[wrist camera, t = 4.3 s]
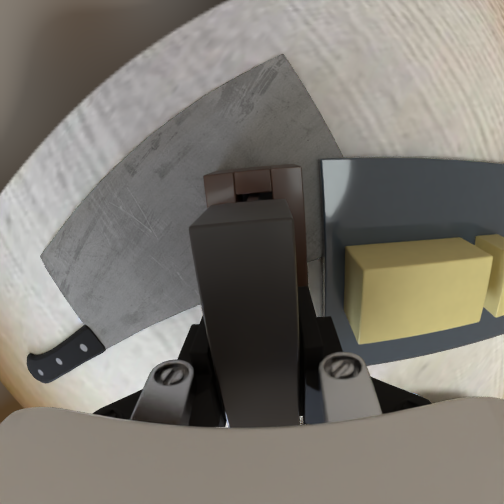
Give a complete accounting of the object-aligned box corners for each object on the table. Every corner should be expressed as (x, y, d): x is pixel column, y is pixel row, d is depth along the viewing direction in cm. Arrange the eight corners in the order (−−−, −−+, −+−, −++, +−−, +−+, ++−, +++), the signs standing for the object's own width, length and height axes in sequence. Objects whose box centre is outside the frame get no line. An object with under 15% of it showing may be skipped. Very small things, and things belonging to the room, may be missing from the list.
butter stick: (343, 310, 15) (357, 345, 12) (344, 245, 14) (363, 270, 11) (452, 295, 15) (479, 322, 12) (460, 236, 14) (494, 255, 11)
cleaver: (-16, 299, 18) (48, 388, 21) (-20, 301, 18) (45, 391, 20) (282, 54, 12) (378, 226, 15) (282, 51, 12) (381, 228, 14)
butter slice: (467, 293, 15) (495, 318, 12) (475, 235, 14) (509, 253, 11) (489, 288, 15) (517, 311, 12) (497, 233, 13) (531, 250, 10)
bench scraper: (252, 349, 17) (241, 475, 9) (232, 183, 14) (186, 226, 6) (289, 347, 17) (298, 473, 9) (278, 179, 14) (294, 217, 6)
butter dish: (321, 364, 18) (323, 372, 17) (317, 158, 14) (320, 158, 13) (511, 325, 16) (516, 330, 15) (535, 167, 13) (542, 168, 12)
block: (241, 366, 18) (237, 400, 15) (215, 170, 14) (202, 175, 11) (303, 363, 18) (308, 397, 15) (294, 163, 14) (301, 166, 11)
